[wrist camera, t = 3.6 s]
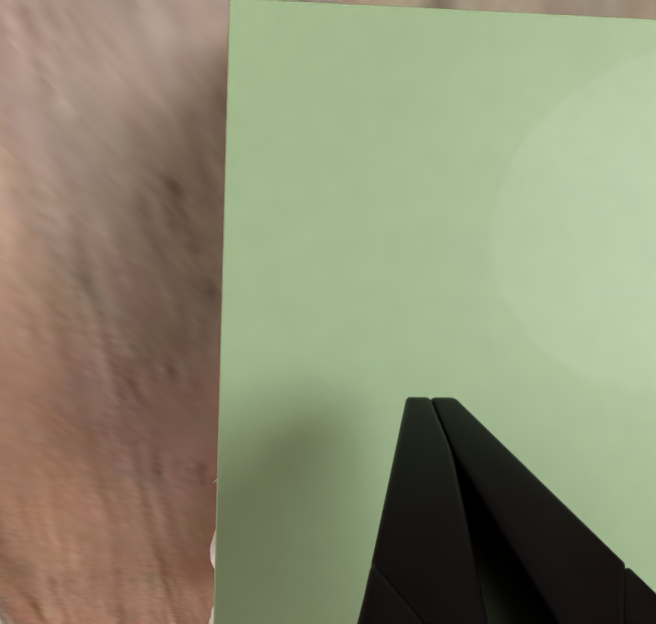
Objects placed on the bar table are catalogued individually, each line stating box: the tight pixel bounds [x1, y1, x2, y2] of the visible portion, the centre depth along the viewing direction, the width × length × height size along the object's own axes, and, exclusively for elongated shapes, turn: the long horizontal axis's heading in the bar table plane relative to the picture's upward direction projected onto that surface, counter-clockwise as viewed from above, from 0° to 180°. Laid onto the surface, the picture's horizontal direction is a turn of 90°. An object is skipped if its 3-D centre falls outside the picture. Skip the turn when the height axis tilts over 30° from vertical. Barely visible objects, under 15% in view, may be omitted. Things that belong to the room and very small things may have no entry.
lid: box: [213, 0, 656, 624], centre depth 11 cm, size 16×13×1 cm
